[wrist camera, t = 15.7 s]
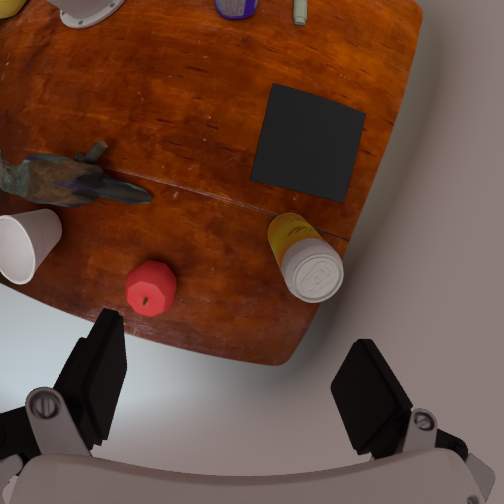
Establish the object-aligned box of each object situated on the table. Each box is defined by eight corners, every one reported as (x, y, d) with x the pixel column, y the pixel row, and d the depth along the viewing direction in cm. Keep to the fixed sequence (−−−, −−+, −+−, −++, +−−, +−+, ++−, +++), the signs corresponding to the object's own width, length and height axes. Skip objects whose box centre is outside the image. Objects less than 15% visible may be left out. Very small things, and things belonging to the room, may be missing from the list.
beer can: (315, 230, 41) (357, 276, 27) (286, 258, 42) (313, 315, 28) (288, 202, 39) (322, 237, 25) (257, 232, 40) (274, 281, 26)
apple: (186, 296, 43) (179, 327, 35) (139, 301, 43) (126, 330, 35) (175, 249, 40) (164, 274, 32) (126, 256, 39) (107, 280, 32)
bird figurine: (168, 160, 34) (26, 145, 16) (145, 226, 37) (14, 245, 19) (115, 135, 38) (4, 122, 20) (98, 191, 41) (-8, 196, 23)
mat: (272, 83, 32) (273, 82, 32) (364, 114, 34) (366, 113, 34) (249, 180, 37) (250, 180, 37) (342, 202, 39) (343, 203, 39)
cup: (77, 208, 36) (37, 230, 26) (68, 263, 39) (34, 295, 29) (33, 189, 34) (-10, 206, 23) (26, 242, 37) (-11, 268, 26)
